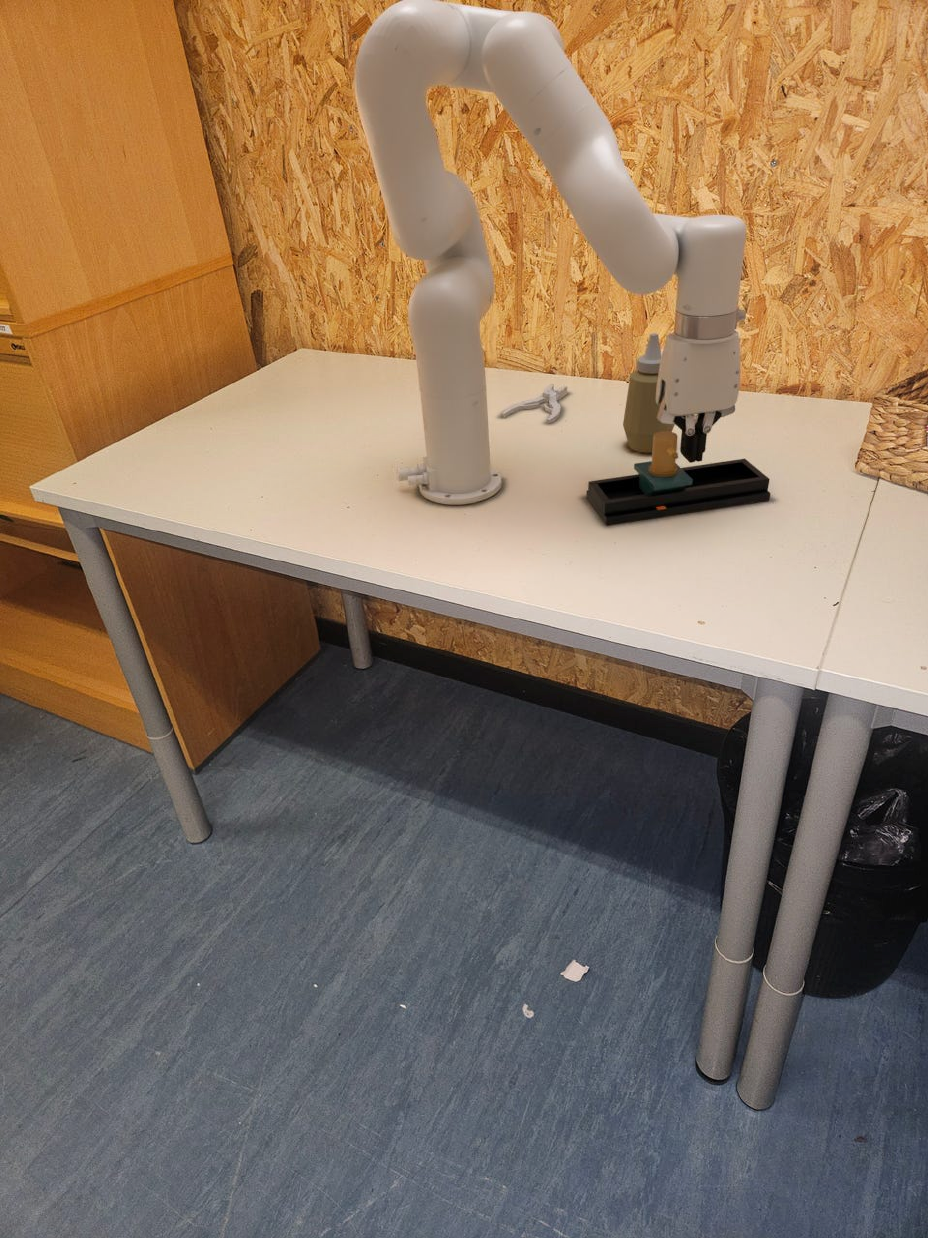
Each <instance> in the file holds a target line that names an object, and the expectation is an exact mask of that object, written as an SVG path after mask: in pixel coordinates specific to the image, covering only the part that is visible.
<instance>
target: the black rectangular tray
mask: <svg viewBox="0 0 928 1238" xmlns="http://www.w3.org/2000/svg"><path fill="white" fill-rule="evenodd" d="M680 468H681V469H682V470H683V471H684V472H685V473H686V474H687V475H688V476H689V477H690V478H691V479H692V480H693V482H692V485H687V486H685V488H684V489H677V490H671V491H664V492H657V493H651V494H644V493H643V492H642V491H641V490H640V489H639V474H638V473H637V474H631V475H623V476H617V477H610V478H603V479H595V480H590V481H588V484H587V485H588V487H587V490H586V497H585V498H586V500H587V501H588V502H589V503H590V505H591V507H593V509H594V510H595V512H596V513H597V515H598V516H599V517H600V519H601V520H602V522H603V523H604V524H605V526H612V525H619V524H625V523H631V522H638V521H643V520H649V519H657V518H663V517H671V516H676V515H683V514H690V513H697V512H704V511H710V510H717V509H722V508H723V509H724V508H728V507H736V506H741V505H742V506H743V505H749V504H755V503H761V502H768V501H770V498H771V492H770V491H768V490H769V485H770V478H769V477H768V476H767V475H766V474H765V473H763V472H762V471H761V470H759V469H758V468H757V467H756V466H754V465H753V464H752V463H751V462H750V461H749V460H747V459H746V458H739V459H731V460H726V461H718V462H712V463H705V464H698V465H692V466H684V467H680Z"/></svg>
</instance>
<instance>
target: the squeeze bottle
mask: <svg viewBox="0 0 928 1238" xmlns="http://www.w3.org/2000/svg"><path fill="white" fill-rule="evenodd" d="M660 344H661V343H660V338H659V333H650V334H649V337H648V340H647V344H646V348H645V352H644V355H641V356H638V357H637V359H636V370H635V371H633V372H632V373H631V374H630V375H629V381H628V387H627V396H626V402H625V409H624V415H623V423H622V426H623V430H624V433H625V437H626V440H627V444H628V447H629V449H631V450H633V451H635V452H638V453H652V451H653V436H654V434H655V433H657V432H662V431H669V432H673V430H674V428H675V424H664V423H661V422H660V421H659V420H658V419H657V415H658V412H659V408H660V406H659V405H657V403H656V388H657V380H658V373H659V367H660V362H661V357H662V355H661V350H662V349H661V345H660Z"/></svg>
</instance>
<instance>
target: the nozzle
mask: <svg viewBox="0 0 928 1238" xmlns="http://www.w3.org/2000/svg"><path fill="white" fill-rule="evenodd" d="M678 437H679V436H678V434H677V433H676V432H673V431H672V432H669V431H662V432H657V433H655V434H654V436H653V451H652V452H651V460H650V461H643V462H636V463H633V469H634V470H635V471H636V473H637V474H639V489H640V490H641V491H642V492H643V493H644V494H651V493H657V492H664V491H671V490H677V489H684V488H685V486H687V485H692V482H693V480H692V479H691V478H690V477H689V476H688V475H687V474H686V473H685V472H684V471H683V470H682V469H681V468H682V467H681V466H680V465H678V463H676V461H677V459H678V458H679V453H678V452H677V447H678Z"/></svg>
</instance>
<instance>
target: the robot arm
mask: <svg viewBox="0 0 928 1238" xmlns="http://www.w3.org/2000/svg"><path fill="white" fill-rule="evenodd" d="M353 77H354V79H353V81H354V82H353V86H354V97H355V103H356V108H357V112H358V115H359V119H360V122H361V127H362V129H363V133H364V136H365V139H366V142H367V146H368V149H369V153H370V157H371V160H372V161H371V162H372V165H373V169H374V173H375V177H376V180H377V184H378V187H379V191H380V195H381V198H382V203H383V205H384V209H385V212H386V216H387V220H388V223H389V227H390V230H391V234H392V237H393V239H394V241H395V243H396V246H397V247H398V248H399V249H400V250H401V252H402V253H403V254H404V255H406V257H409V258H411V259H413V260H417V261H422V262H423V265H424V268H425V272H426V273H425V274H424V275H423V276H422V277H421V278H420V279H419V280H418V281H417V282H416V284H415V286H414V287H413V289H412V291H411V293H410V296H409V300H408V303H407V323H408V329H409V333H410V339H411V342H412V347H413V351H414V356H415V361H416V369H417V378H418V386H419V392H420V402H421V413H422V422H423V432H424V441H425V452H426V454H425V455H426V456H423V457H422V461H423V462H422V463H417V465H416V466H412V467H411V466H407V467H399V468H397V469H396V473H397V479H398V482H404V481H407V484H408V486H415V485H418V486H419V492H420V494H421V495H422V497H424V498H425V499H427V500H429V501H431V502H434V503H437V504H443V505H453V506H454V505H455V506H457V505H467V504H469V505H470V504H475V503H478V502H481V501H485V500H487V499H489V498H491V497H493V496H494V495H496V494H497V493H498V492H499V491H500V490H501V488H502V475H501V474H500V473H499V472H498V471H497V470H496V469H495V468H493V467H491V450H490V449H491V447H490V432H489V412H488V411H489V410H488V409H489V408H488V394H487V380H486V376H487V375H486V365H485V364H486V363H485V356H484V350H483V345H482V338H481V322H482V320H483V319H484V317H485V316H486V314H487V313H488V312H489V310H490V309H491V307H492V304H493V302H494V298H495V291H496V289H495V288H496V287H495V286H496V285H495V277H494V272H493V268H492V262H491V259H490V254H489V250H488V245H487V242H486V238H485V233H484V229H483V225H482V222H481V216H480V212H479V209H478V208H479V207H478V205H477V203H476V199H475V196H474V194H473V192H472V190H471V189H470V187H469V185H468V184H467V182H465V181H464V180H463V179H462V178H461V177H460V176H459V175H458V174H456V173H454V172H452V171H450V170H446V167H445V164H444V163H445V162H444V160H443V157H442V152H441V147H440V142H439V138H438V134H437V131H436V128H435V125H434V122H433V120H432V117H431V115H430V112H429V109H428V105H427V93H428V91H429V89H430V88H435V87H440V86H443V87H453V88H460V89H467V90H473V91H480V92H487V93H493V94H494V95H495V97H496V98H497V100H498V102H499V103H500V104H501V106H502V107H503V108H504V110H505V111H506V114H508V116H509V117H510V119H511V120H512V122H513V123H514V124H515V126H516V127H517V129H518V130H519V132H520V133H521V135H522V136H523V137H524V139H525V141H526V142H527V143H528V144H529V146H530V147H531V149H532V150H533V152H534V153H535V154H536V156H537V157H538V159H539V160H540V162H541V163H542V165H543V167H544V168H545V169H546V171H547V172H548V174H549V176H550V177H551V179H552V181H553V183H554V185H555V187H556V189H557V191H558V193H559V195H560V197H561V198H562V199H563V201H564V203H565V204H566V206H567V208H568V211H569V212H570V213H571V214H570V215H572V217H573V220H574V221H575V223H576V224H577V226H578V228H579V229H580V231H581V233H582V235H583V236H584V238H585V239H586V241H587V243H588V244H589V246H590V247H591V248H592V251H594V253H595V255H597V257H598V259H599V260H600V261H601V263H602V264H603V266H604V268H606V270H607V271H608V273H609V274H610V275H611V276H612V278H613V279H614V281H615V282H616V283H617V284H618V285H619V286H620V287H621V288H623V289H624V290H626V291H627V292H629V293H632V294H634V295H640V296H642V295H643V296H645V295H650V294H653V293H657V292H658V291H660V290H661V289H662V288H664V287H665V286H666V285H667V284H668V283H669V282H670V281H671V279H672V278H673V276H674V275H675V276H676V277H677V284H676V285H677V287H676V297H675V298H676V299H675V309H674V310H675V312H674V322H673V323H674V325H673V332H672V333H668V334H667V335H666V339H665V342H664V345H663V346H664V349H663V353H662V357H661V362H660V367H659V373H658V380H657V388H656V403H657V405H659V406H660V408H659V412H658V415H657V419H658V420H659V421H660V422H661V423H664V424H674V425H676V426H677V427H678V428H679V429H680V430H681V434H680V435H681V436H680V447H679V451H680V454H681V455H682V457H683V458H684V459H686V460H687V461H688V462H689V463H690V464H692V463H695V462H702V461H703V457H704V456H703V455H704V453H705V452H706V446H707V439H708V438H707V437H708V434H710V433H711V431H712V428H713V426H714V425H715V424H716V423H717V422H718V421H719V420H720V419H721V418H724V417H727V416H730V415H732V414H734V413H735V411H736V404H737V401H738V397H739V392H740V385H741V384H740V383H741V369H742V368H741V367H742V366H741V362H742V361H741V359H742V358H741V343H740V334H739V332H738V331H737V325H738V323H739V322H743V321H745V320H746V317H747V313H746V310H745V309H739V299H740V290H741V280H742V272H743V263H744V257H745V256H744V255H745V247H746V240H747V239H746V238H747V226H746V223H745V220H743V219H742V218H740V217H738V216H735V215H730V214H707V215H706V214H705V215H700V216H695V217H689V216H680V215H679V216H678V215H670V214H663V213H653V212H652V210H651V209H650V207H649V205H648V204H647V202H646V201H645V200H644V198H643V196H642V195H641V193H640V192H639V190H638V188H637V187H636V184H635V182H634V181H633V179H632V177H631V175H630V174H629V171H628V169H627V167H626V165H625V163H624V160H623V157H622V153H621V151H620V147H619V144H618V140H617V136H616V134H615V131H614V129H613V127H612V125H611V122H610V120H609V118H608V117H607V116H606V114H605V112H604V111H603V110H602V108H601V106H600V105H599V104H598V102H597V100H596V99H595V97H594V96H593V94H592V93H591V92H590V91H589V89H588V87H587V86H586V83H584V81H583V79H582V78H581V76H580V75H579V74H578V72H577V70H576V68H575V67H574V66H573V63H572V62H571V61H570V59H569V58H568V56H567V54H566V52H565V45H564V42H563V38H562V35H561V33H560V30H559V29H558V27H557V26H556V25H555V23H554V22H553V21H551V19H549V18H548V17H547V16H545V15H543V14H542V13H537V12H533V11H524V10H523V11H521V10H520V11H519V10H518V11H514V10H513V11H512V10H503V9H495V8H488V7H481V6H474V5H468V4H462V3H455V2H449V1H442V0H400V1H398V2H396V3H393V4H392V5H390V6H389V7H388V8H386V9H385V10H384V11H383V12H382V13H380V15H379V16H378V17H377V18H376V19H375V21H373V23H372V24H371V26H370V28H368V30H367V32H366V34H365V36H364V37H363V39H362V42H361V44H360V47H359V50H358V53H357V56H356V60H355V65H354V74H353ZM694 416H695V417H696V418H695V420H694Z"/></svg>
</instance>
